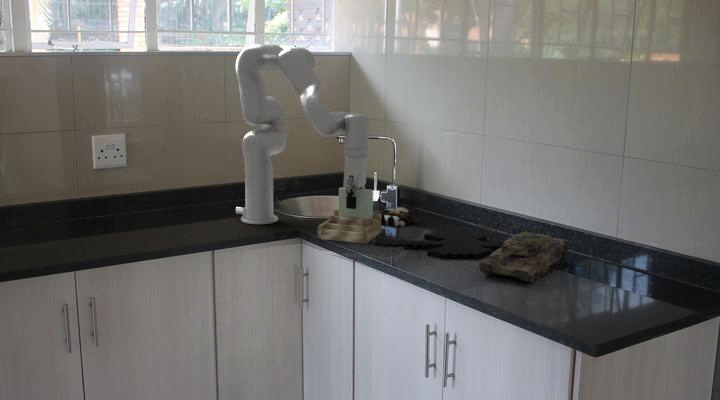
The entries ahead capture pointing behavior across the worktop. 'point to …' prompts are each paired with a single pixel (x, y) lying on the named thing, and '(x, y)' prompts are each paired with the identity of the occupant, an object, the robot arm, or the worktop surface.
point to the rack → (349, 230)
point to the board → (357, 204)
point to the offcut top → (351, 221)
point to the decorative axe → (449, 245)
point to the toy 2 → (526, 257)
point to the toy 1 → (396, 217)
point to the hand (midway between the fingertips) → (355, 205)
